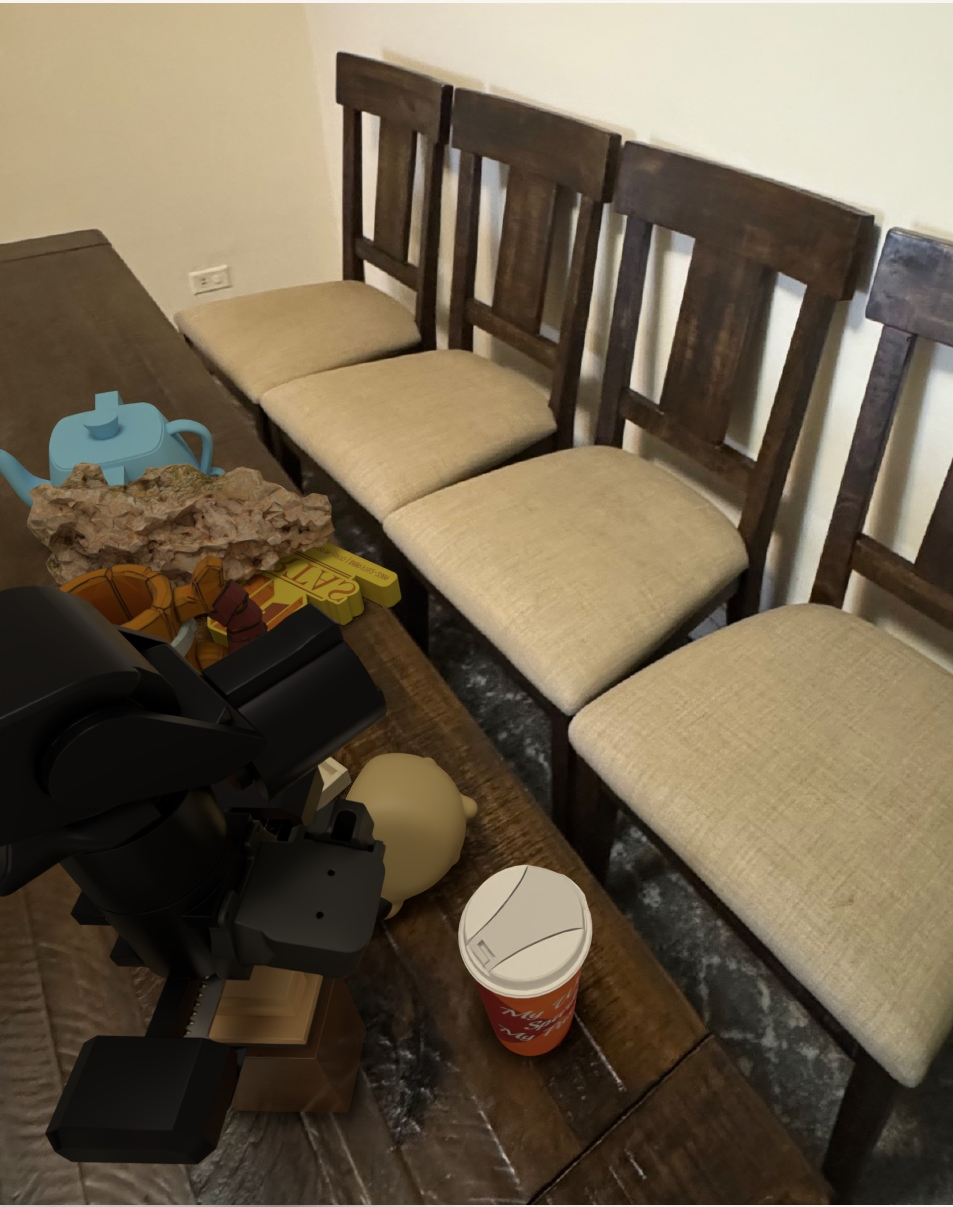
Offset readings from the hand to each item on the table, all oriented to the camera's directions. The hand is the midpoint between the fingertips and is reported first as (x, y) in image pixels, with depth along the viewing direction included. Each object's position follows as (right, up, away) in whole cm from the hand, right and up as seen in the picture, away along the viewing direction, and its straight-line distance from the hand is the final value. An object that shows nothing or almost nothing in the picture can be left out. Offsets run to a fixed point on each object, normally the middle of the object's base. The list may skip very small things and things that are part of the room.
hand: (254, 995), depth 45 cm
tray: (-9, +5, +22) cm, 24 cm away
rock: (-19, +22, +36) cm, 46 cm away
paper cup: (+14, -7, +11) cm, 19 cm away
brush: (0, -1, +1) cm, 2 cm away
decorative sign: (-10, +27, +43) cm, 52 cm away
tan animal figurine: (+3, +1, +19) cm, 19 cm away
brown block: (0, -9, +8) cm, 12 cm away
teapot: (-32, +29, +46) cm, 63 cm away
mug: (-18, +13, +30) cm, 37 cm away
